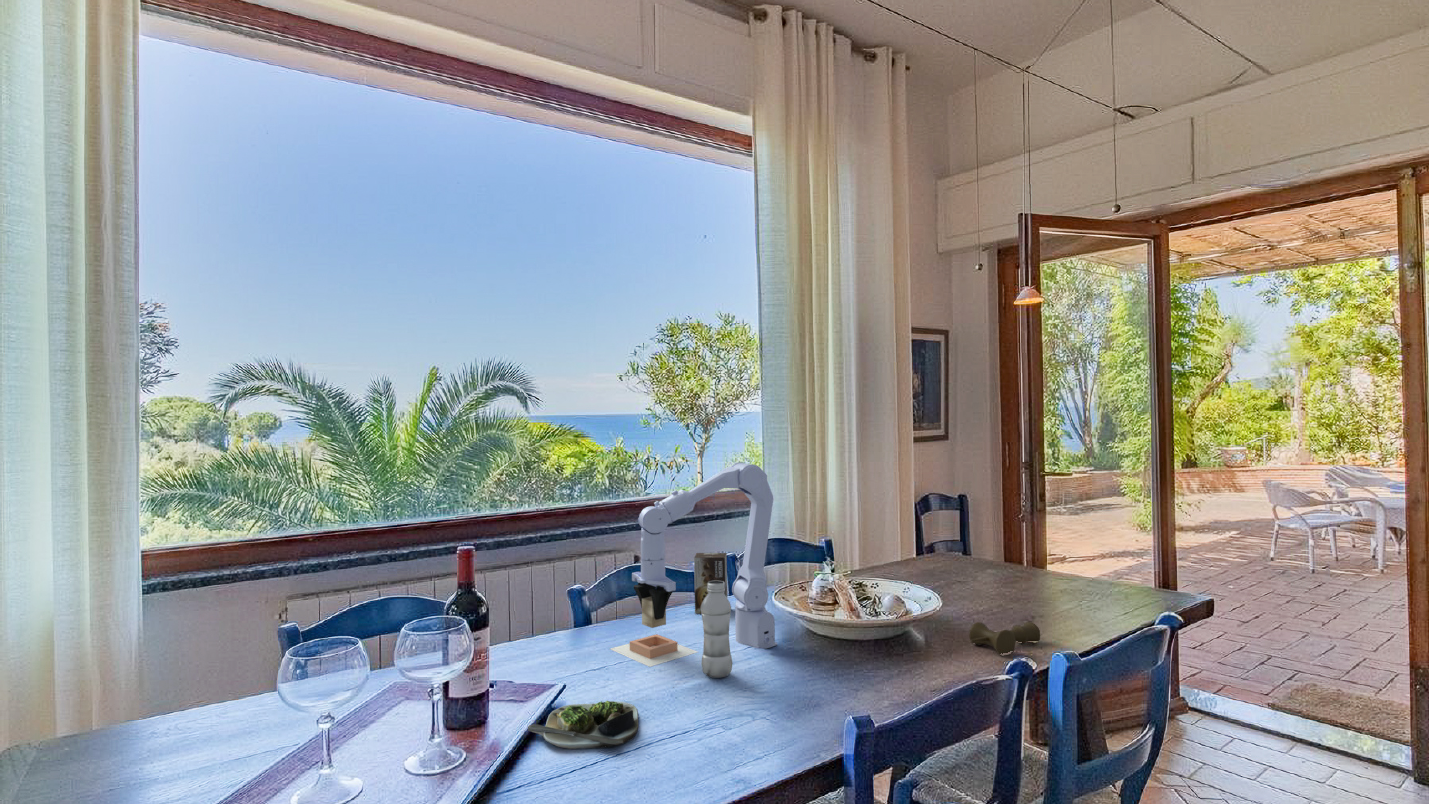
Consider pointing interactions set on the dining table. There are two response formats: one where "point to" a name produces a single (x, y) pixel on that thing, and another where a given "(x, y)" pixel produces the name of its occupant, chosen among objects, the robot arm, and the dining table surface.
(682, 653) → the cream flat mat
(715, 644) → the plastic bottle
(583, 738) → the salad plate
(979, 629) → the olive double spool shape
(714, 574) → the coffee box
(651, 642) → the terracotta holder
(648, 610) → the birch peg
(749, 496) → the robot arm
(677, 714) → the dining table surface
